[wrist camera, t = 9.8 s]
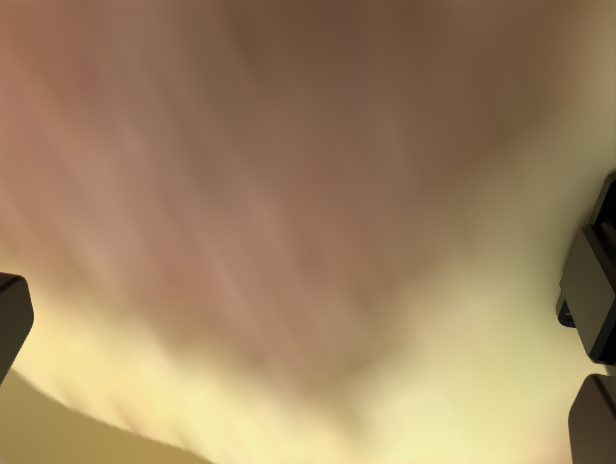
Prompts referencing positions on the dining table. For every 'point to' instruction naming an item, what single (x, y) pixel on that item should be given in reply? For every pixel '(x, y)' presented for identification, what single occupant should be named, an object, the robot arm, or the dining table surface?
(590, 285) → the robot arm
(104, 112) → the dining table surface
